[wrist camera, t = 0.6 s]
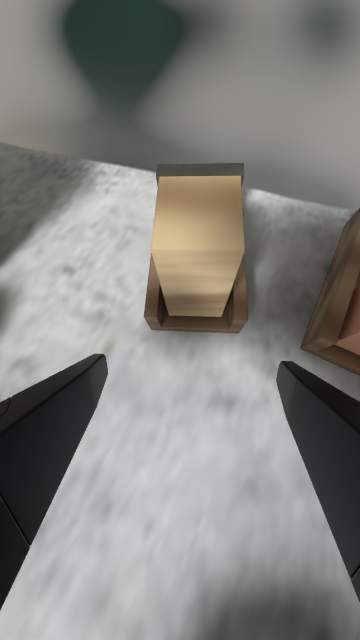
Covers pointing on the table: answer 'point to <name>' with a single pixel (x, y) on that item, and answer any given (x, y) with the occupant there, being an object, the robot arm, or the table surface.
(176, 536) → the table surface
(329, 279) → the dark wooden block holder
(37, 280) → the table surface
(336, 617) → the table surface
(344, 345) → the terracotta slider
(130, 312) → the table surface
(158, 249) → the oak slider
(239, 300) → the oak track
